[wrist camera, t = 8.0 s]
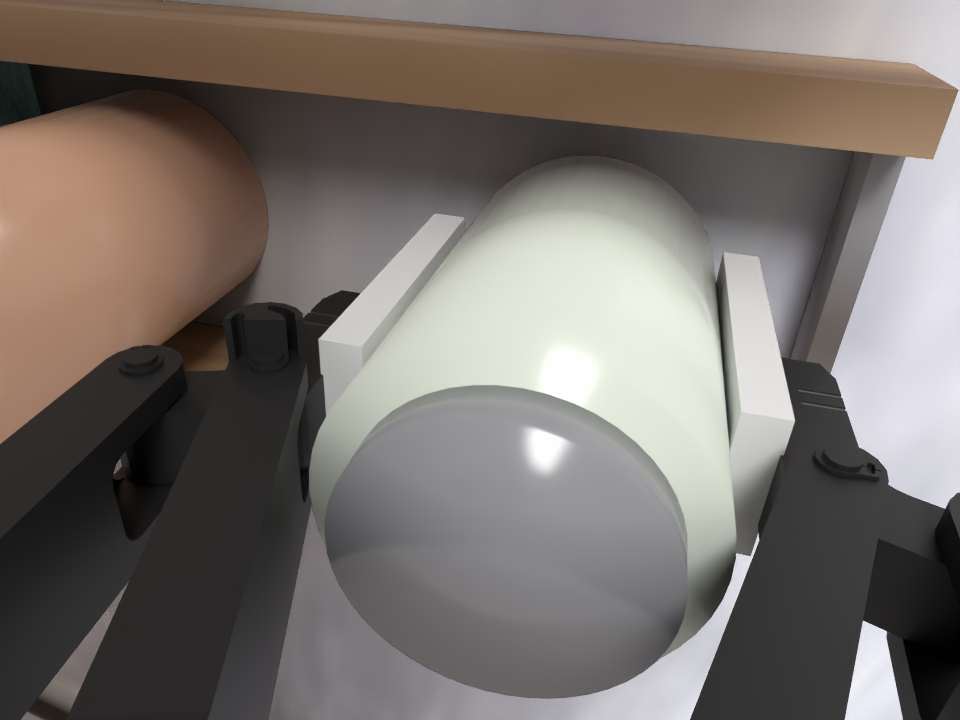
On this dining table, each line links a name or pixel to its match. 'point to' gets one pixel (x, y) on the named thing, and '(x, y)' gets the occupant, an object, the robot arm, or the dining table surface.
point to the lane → (528, 99)
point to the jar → (542, 443)
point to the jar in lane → (114, 236)
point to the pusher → (16, 93)
